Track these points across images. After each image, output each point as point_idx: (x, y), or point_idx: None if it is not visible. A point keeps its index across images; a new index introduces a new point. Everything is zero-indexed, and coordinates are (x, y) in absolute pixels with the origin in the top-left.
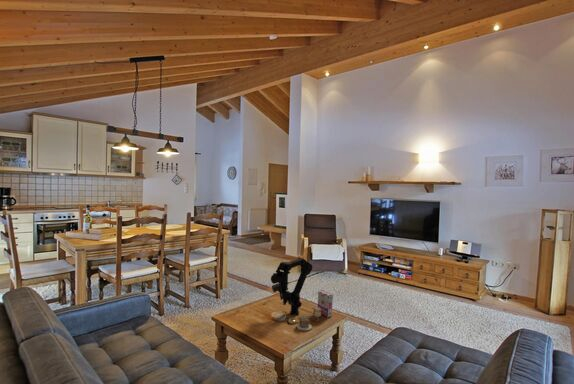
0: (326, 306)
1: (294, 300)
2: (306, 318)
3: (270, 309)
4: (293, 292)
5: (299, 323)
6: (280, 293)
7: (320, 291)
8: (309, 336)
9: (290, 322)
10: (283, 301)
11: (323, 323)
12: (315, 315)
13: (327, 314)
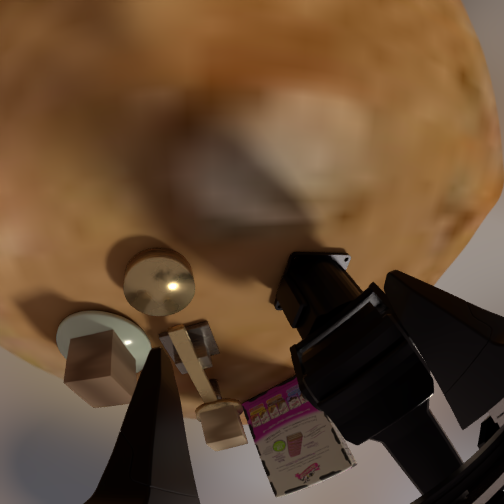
0: (264, 444)
1: (314, 399)
2: (111, 401)
3: (402, 99)
4: (411, 411)
5: (128, 328)
6: (469, 342)
7: (342, 471)
8: (26, 357)
9: (126, 273)
10: (127, 416)
11: (181, 400)
12: (198, 411)
13: (246, 416)
